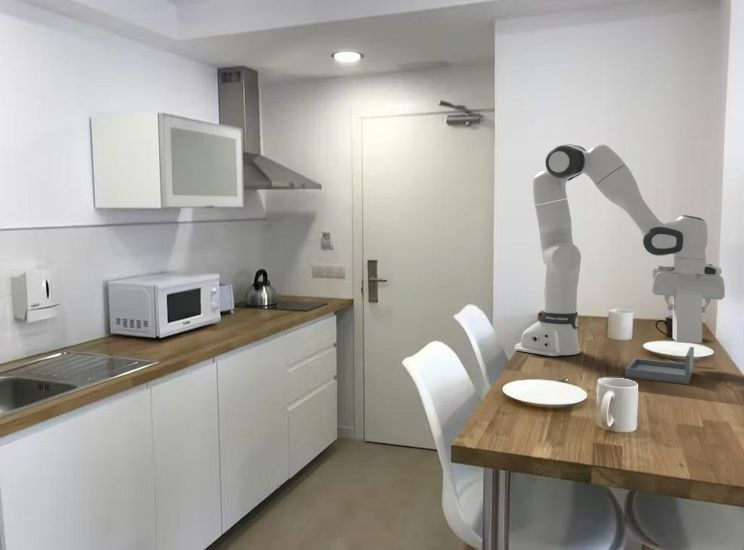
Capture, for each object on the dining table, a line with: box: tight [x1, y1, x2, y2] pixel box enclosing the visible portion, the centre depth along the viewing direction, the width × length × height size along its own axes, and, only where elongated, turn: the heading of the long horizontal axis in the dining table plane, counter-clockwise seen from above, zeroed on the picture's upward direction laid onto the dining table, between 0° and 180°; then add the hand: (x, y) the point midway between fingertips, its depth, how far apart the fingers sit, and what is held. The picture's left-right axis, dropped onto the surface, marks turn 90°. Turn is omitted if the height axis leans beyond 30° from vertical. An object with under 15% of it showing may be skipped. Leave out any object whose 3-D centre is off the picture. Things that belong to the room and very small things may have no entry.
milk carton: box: [672, 288, 703, 344], centre depth 191 cm, size 7×7×19 cm
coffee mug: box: [655, 314, 674, 340], centre depth 232 cm, size 12×9×10 cm
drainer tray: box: [624, 346, 695, 385], centre depth 184 cm, size 17×16×8 cm
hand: (686, 311), depth 191 cm, fingers closed on milk carton, 8 cm apart
